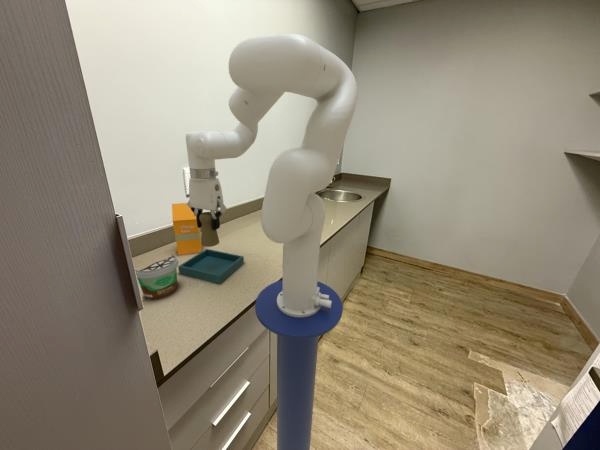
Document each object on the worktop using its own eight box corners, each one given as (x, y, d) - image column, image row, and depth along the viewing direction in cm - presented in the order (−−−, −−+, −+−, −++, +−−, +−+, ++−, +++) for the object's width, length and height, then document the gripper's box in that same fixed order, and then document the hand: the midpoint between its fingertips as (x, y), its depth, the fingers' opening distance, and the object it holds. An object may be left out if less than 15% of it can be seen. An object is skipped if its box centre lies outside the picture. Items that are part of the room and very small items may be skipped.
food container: (152, 307, 67) (145, 276, 64) (139, 300, 70) (132, 270, 66) (190, 285, 77) (186, 257, 74) (178, 280, 80) (173, 252, 77)
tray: (243, 263, 92) (243, 256, 91) (220, 284, 79) (219, 276, 78) (207, 255, 96) (206, 248, 95) (179, 273, 83) (178, 266, 82)
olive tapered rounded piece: (223, 242, 85) (220, 212, 81) (208, 248, 80) (205, 216, 76) (211, 238, 88) (209, 209, 84) (197, 243, 83) (193, 213, 79)
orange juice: (180, 246, 103) (172, 201, 96) (202, 244, 106) (196, 200, 99) (177, 255, 96) (169, 206, 89) (201, 252, 99) (195, 205, 92)
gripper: (233, 174, 76) (236, 227, 83) (189, 170, 81) (195, 220, 88) (218, 178, 70) (223, 235, 76) (172, 173, 75) (180, 227, 81)
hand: (208, 227), depth 82 cm, fingers closed on olive tapered rounded piece, 5 cm apart
